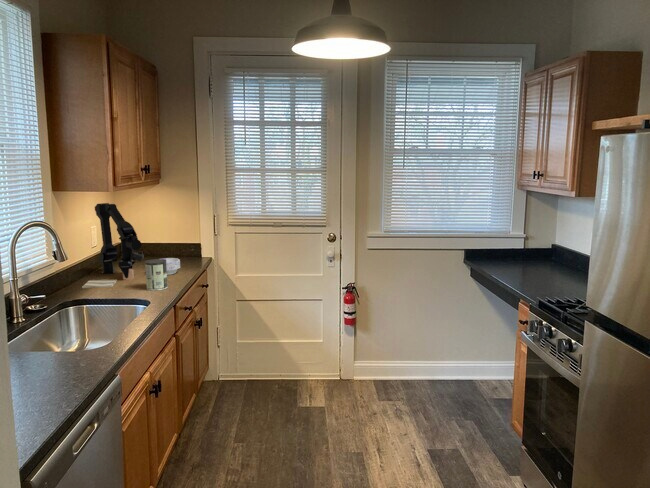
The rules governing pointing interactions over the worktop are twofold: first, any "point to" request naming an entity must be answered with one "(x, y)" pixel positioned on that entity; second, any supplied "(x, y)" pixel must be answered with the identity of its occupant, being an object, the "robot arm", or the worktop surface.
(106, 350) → the worktop surface
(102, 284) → the striped cloth
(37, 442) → the worktop surface
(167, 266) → the paper bowls
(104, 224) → the robot arm
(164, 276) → the coffee can
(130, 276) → the terracotta cube
